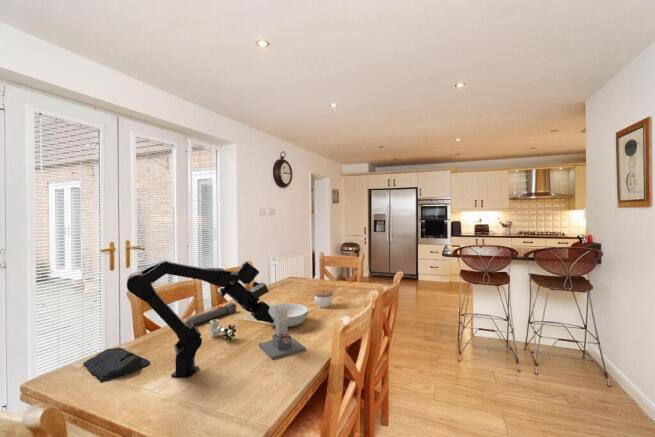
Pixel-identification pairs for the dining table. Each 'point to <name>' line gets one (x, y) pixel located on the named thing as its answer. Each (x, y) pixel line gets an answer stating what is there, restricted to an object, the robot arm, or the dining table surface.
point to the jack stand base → (281, 346)
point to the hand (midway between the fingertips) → (268, 318)
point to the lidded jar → (323, 298)
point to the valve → (221, 330)
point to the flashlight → (212, 314)
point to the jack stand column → (281, 322)
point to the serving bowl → (290, 313)
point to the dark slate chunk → (114, 364)
